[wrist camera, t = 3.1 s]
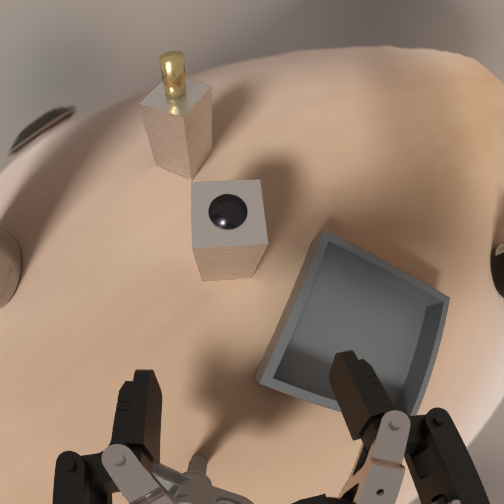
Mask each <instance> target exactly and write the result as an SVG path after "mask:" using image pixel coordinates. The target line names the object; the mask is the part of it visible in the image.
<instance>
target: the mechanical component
mask: <svg viewBox="0 0 504 504" xmlns="http://www.w3.org/2000/svg"><path fill="white" fill-rule="evenodd" d="M206 468H207V460H206V458H205V457H203V456H201V455H195V456H193V457H192V460H191V461H190V462H189V466H188V471H187V472H184V473H183V474H182V473H180V472H178V471H176V470H173V469H171V468H169V467H167V466H165V465H163V464H161V463H160V464H153V466H152V473H153V474H154V475H155V477H156V478H157V479H158V480H159V481H160V483H161V484H162V485H163V486H164V487H165V488H166V490H167V491H168V492H169V493H170V494H171V495H172V496H173V497H174V498H175V499H176V500H177V501H178V502H179V503H180V504H254V503H253V502H252V501H250V500H249V499H247V498H245V497H243V496H241V495H238V494H235V493H232V492H229V491H226V490H223V489H220V488H217V487H214V486H212V484H211V480H210V479H209V478H208V477H207V476H206ZM122 496H124V495H123V494H122Z"/></svg>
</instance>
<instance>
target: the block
mask: <svg viewBox="0 0 504 504" xmlns="http://www.w3.org/2000/svg"><path fill="white" fill-rule="evenodd" d="M191 220H192V249H193V253H194V256H195V260H196V263H197V266H198V270H199V273H200V276H201V280H202V281H218V280H233V279H247V278H252V276H253V274H254V272H255V270H256V268H257V266H258V264H259V262H260V260H261V258H262V256H263V254H264V252H265V250H266V248H267V246H268V237H267V229H266V221H265V213H264V205H263V198H262V190H261V182H260V179H259V180H226V181H206V182H191Z"/></svg>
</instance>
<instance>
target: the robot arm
mask: <svg viewBox="0 0 504 504" xmlns="http://www.w3.org/2000/svg"><path fill="white" fill-rule="evenodd" d="M20 273H21V253H20V248H19V245H18V243H17V241H16V240H15V238H14V237H13V236H12V235H10V234H9V233H7V232H6V231H4V230H3V229H1V228H0V307H2V306H4V305H5V304H6V303H7V302H8V301H9V300H10V299H11V297H12V296H13V294H14V292H15V290H16V287H17V284H18V282H19V277H20ZM376 375H377V374H376V373H375V371H374V369H373V367H372V366H371V365H370V364H369V363H368V362H367V361H365V360H364V359H360V360H358V358H357V356H356V354H355V353H354V351H353V350H349V351H344V352H339V353H336V354H335V357H334V360H333V363H332V366H331V369H330V372H329V382H330V385H331V388H332V390H333V393H334V395H335V397H336V400H337V402H338V405H339V407H340V410H341V412H342V414H343V417H344V419H345V422H346V424H347V427H348V429H349V432H350V434H351V437H352V439H353V441H354V440H357V439H360V438H361V440H362V442H363V443H362V445H361V448H360V451H359V454H358V456H357V459H356V461H355V464H354V467H353V469H352V472H351V474H350V476H349V478H348V480H347V482H346V483H345V485H344V486H343V488H342V490H341V492H340V494H339V496H338V498H335V497H326V495H325V494H322V495H318V496H314V497H310V498H306V499H302V500H299V501H297V502H294V503H292V504H395V502H396V499H397V496H398V493H399V490H400V486H401V483H402V480H403V476H404V472H405V467H404V466H402V461H403V457H404V458H405V460H406V463H407V465H408V468H409V471H410V473H411V476H412V479H413V481H414V484H415V487H416V490H417V492H418V495H419V498H420V501H421V504H490V503H489V500H488V498H487V495H486V492H485V490H484V487H483V485H482V482H481V480H480V477H479V475H478V473H477V470H476V468H475V466H474V464H473V462H472V459H471V457H470V455H469V453H468V451H467V449H466V447H465V444H464V442H463V440H462V438H461V436H460V434H459V432H458V430H457V428H456V426H455V425H454V423H453V421H452V419H451V417H450V415H449V413H448V412H447V411H446V410H444V409H442V408H433V409H431V410H430V411H429V412H428V413H427V414H426V415H416V416H407V415H406V414H405V413H403V412H401V411H397V410H396V409H395V407H394V405H393V404H392V402H391V400H390V398H389V396H388V394H387V393H386V391H385V389H384V387H383V385H382V383H380V380H379V378H378V376H376ZM161 412H162V393H161V389H160V386H159V384H158V381H157V378H156V376H155V373H154V371H153V370H135V373H134V379H133V381H125V383H124V384H123V386H122V387H121V389H120V390H119V395H118V403H117V407H116V412H115V418H114V425H113V432H112V439H111V442H110V444H109V446H108V447H107V448H106V449H105V450H104V451H102V452H100V453H97V454H91V455H84V456H80V455H79V454H77V453H76V452H73V451H65V452H63V453H61V454H60V455H59V456H58V458H57V460H56V467H55V477H54V489H53V504H112V493H115V492H122V494H123V495H124V497H125V498H126V499H127V501H128V502H129V504H180V503H179V502H178V501H177V500H176V499H175V498H174V497H173V496H172V495H171V494H170V493H169V492H168V491H167V490H166V488H165V487H164V486H163V485H162V484H161V483H160V481H159V480H158V479H157V478H156V477H155V475H154V474H153V473H152V466H153V464H160V433H161Z"/></svg>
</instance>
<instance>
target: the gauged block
mask: <svg viewBox="0 0 504 504" xmlns="http://www.w3.org/2000/svg"><path fill="white" fill-rule="evenodd" d="M160 64H161V72H162V78H163V81H162V82H161V83H160V84H159V85H158V86H157V87H156V88H155V89H153V90H152V91H151V92H150V93H149V94H148V95H147V96H146V97H145V98H144V99H143V100H142V101H141V102H140V103H139V106H140V110H141V114H142V118H143V121H144V125H145V128H146V132H147V135H148V139H149V142H150V146H151V149H152V153H153V156H154V159H155V162H156V166H157V167H160V168H162V169H165V170H167V171H169V172H172V173H174V174H177V175H179V176H181V177H184V178H186V179H189V180H191V181H192V180H193V178H194V176H195V175H196V173H197V172H198V170H199V169H200V168H201V166H202V165H203V163H204V162H205V160H206V159H207V157H208V156H209V154H210V153H211V152H212V86H211V85H208V84H204V83H201V82H197V81H193V80H189V79H186V78H185V69H184V54H183V53H182V52H179V51H171V52H167V53H164V54H163V55H162V56H161V57H160Z"/></svg>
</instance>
